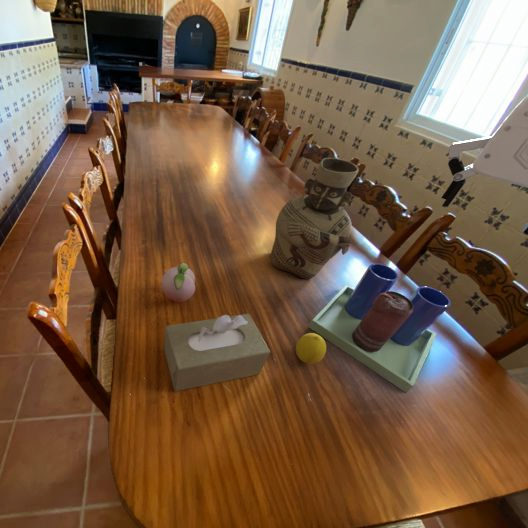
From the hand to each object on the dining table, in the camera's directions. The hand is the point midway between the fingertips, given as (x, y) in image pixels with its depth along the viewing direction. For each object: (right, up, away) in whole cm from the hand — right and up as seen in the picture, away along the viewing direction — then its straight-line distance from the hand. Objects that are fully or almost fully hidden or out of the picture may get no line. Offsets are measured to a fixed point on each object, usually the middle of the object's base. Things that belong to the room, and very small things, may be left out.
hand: (483, 217), depth 44 cm
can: (-2, -25, +24) cm, 35 cm away
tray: (+1, -24, +27) cm, 36 cm away
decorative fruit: (-46, -16, +32) cm, 58 cm away
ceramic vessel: (-8, -6, +48) cm, 49 cm away
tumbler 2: (+7, -24, +27) cm, 37 cm away
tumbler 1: (0, -19, +32) cm, 38 cm away
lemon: (-18, -28, +20) cm, 39 cm away
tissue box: (-39, -28, +18) cm, 51 cm away
